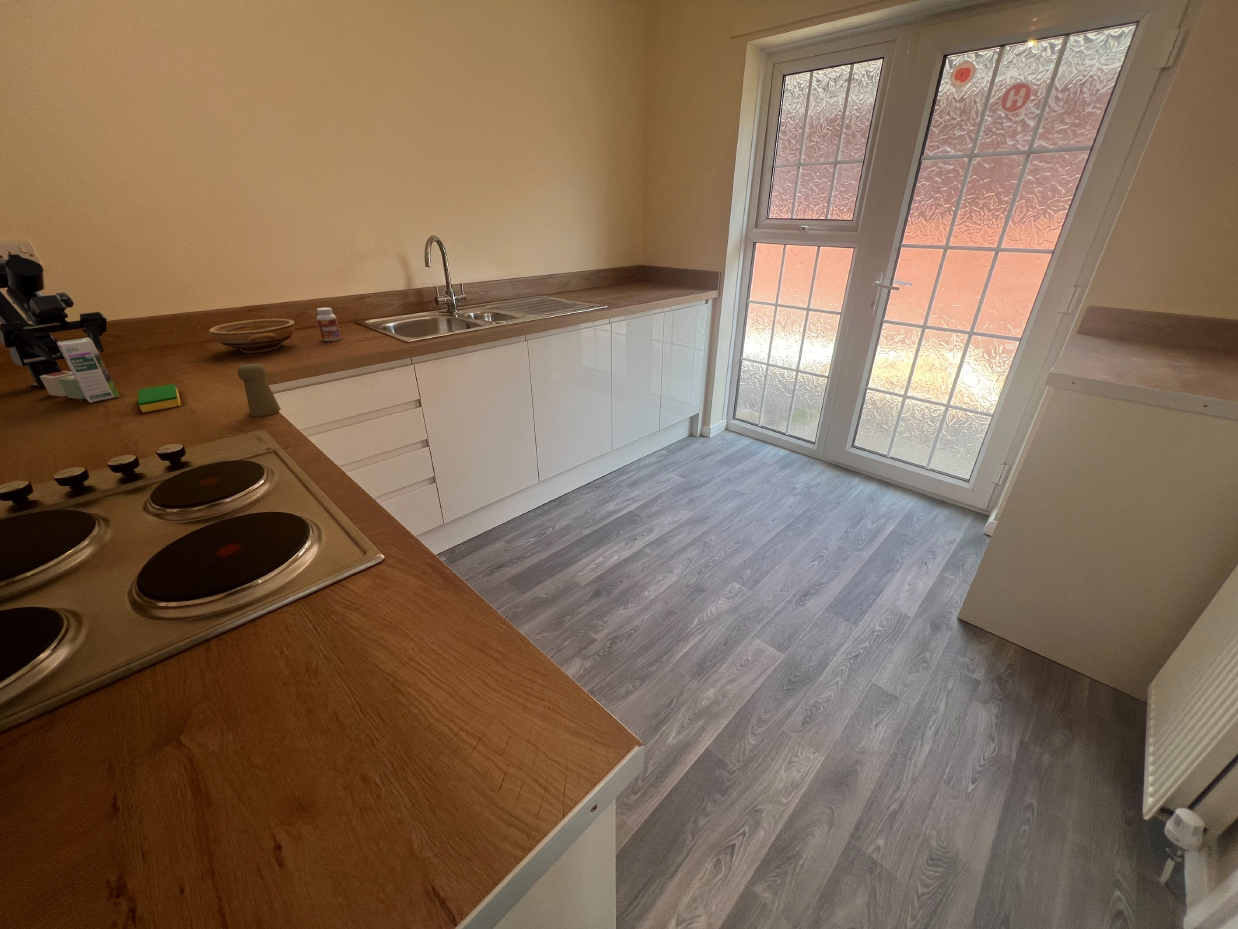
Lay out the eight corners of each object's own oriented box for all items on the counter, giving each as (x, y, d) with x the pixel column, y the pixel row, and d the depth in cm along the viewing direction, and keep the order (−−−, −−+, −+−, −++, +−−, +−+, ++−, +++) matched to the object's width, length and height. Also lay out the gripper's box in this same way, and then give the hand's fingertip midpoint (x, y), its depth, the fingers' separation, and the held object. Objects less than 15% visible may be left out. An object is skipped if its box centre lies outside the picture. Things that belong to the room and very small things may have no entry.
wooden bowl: (311, 349, 170) (304, 325, 166) (225, 363, 155) (215, 337, 152) (289, 336, 189) (283, 315, 186) (211, 347, 175) (202, 324, 171)
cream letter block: (49, 395, 129) (39, 375, 127) (73, 389, 133) (63, 370, 131) (61, 396, 128) (51, 377, 125) (85, 390, 132) (75, 371, 130)
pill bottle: (324, 342, 180) (315, 310, 175) (321, 339, 184) (312, 308, 180) (342, 339, 183) (334, 308, 178) (340, 337, 188) (332, 306, 183)
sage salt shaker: (248, 418, 112) (230, 370, 107) (251, 409, 117) (235, 363, 112) (279, 413, 115) (263, 366, 110) (281, 405, 120) (266, 360, 115)
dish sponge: (178, 392, 130) (174, 383, 128) (181, 406, 120) (177, 396, 119) (142, 398, 125) (138, 389, 124) (142, 413, 116) (137, 403, 115)
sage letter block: (67, 397, 127) (57, 378, 125) (91, 391, 131) (82, 372, 129) (80, 399, 125) (70, 379, 123) (104, 393, 130) (94, 374, 127)
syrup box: (89, 403, 123) (59, 344, 116) (85, 398, 126) (55, 340, 120) (120, 397, 127) (92, 339, 120) (115, 392, 130) (87, 336, 123)
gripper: (-26, 287, 110) (22, 342, 110) (84, 278, 125) (126, 326, 125) (-19, 320, 117) (26, 372, 117) (85, 308, 131) (125, 354, 132)
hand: (78, 355), depth 123 cm, fingers open, 9 cm apart
